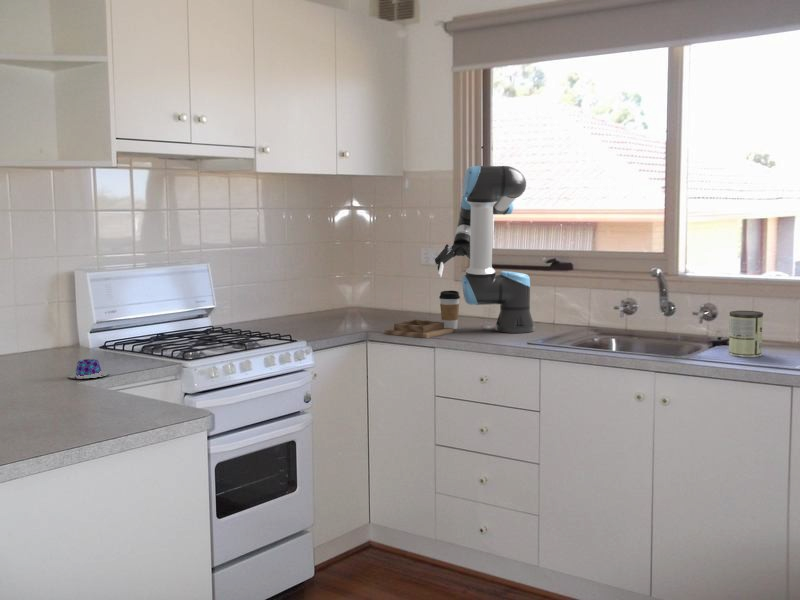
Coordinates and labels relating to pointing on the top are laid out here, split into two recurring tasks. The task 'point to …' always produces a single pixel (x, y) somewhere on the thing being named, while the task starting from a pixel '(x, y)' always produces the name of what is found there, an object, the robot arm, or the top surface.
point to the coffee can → (745, 333)
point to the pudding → (87, 367)
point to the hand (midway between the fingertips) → (455, 276)
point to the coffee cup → (449, 308)
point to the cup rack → (419, 329)
